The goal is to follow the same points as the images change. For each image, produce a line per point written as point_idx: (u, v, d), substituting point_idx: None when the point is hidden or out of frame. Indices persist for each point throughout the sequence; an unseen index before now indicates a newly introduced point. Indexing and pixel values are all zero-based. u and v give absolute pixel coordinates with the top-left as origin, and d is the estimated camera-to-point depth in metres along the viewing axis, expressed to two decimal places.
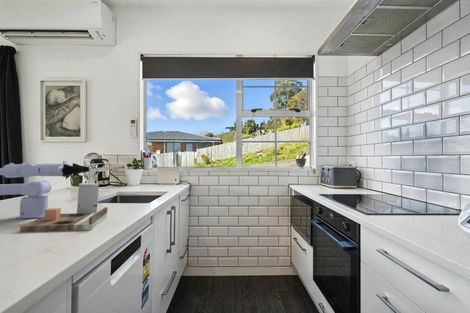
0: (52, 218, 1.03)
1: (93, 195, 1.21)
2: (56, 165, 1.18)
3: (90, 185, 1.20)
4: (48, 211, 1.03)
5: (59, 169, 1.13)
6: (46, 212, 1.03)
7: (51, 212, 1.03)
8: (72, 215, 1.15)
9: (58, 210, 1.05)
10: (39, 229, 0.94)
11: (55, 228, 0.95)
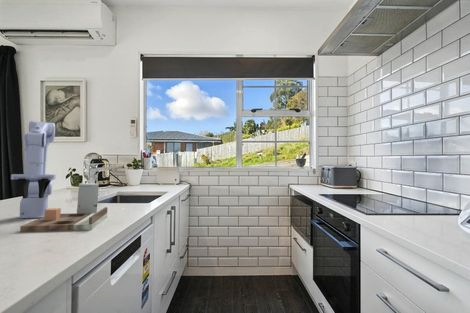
0: (52, 218, 1.03)
1: (93, 195, 1.21)
2: (25, 168, 1.01)
3: (90, 185, 1.20)
4: (48, 211, 1.03)
5: None
6: (46, 212, 1.03)
7: (51, 212, 1.03)
8: (72, 215, 1.15)
9: (58, 210, 1.05)
10: (39, 229, 0.94)
11: (55, 228, 0.95)
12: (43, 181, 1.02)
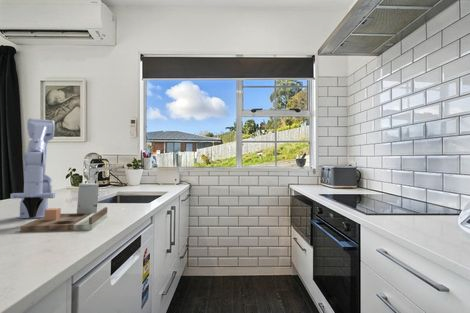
0: (52, 218, 1.03)
1: (93, 195, 1.21)
2: (25, 188, 1.01)
3: (90, 185, 1.20)
4: (48, 211, 1.03)
5: None
6: (46, 212, 1.03)
7: (51, 212, 1.03)
8: (72, 215, 1.15)
9: (58, 210, 1.05)
10: (39, 229, 0.94)
11: (55, 228, 0.95)
12: (35, 200, 1.01)
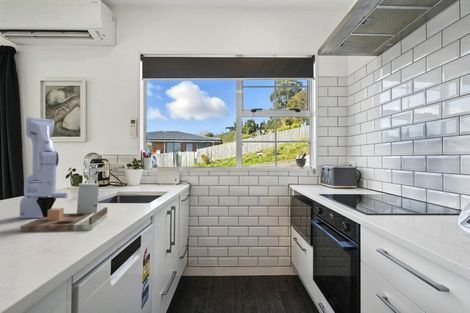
0: (55, 218, 1.03)
1: (93, 195, 1.21)
2: (38, 188, 1.02)
3: (90, 185, 1.20)
4: (51, 211, 1.03)
5: None
6: (49, 212, 1.03)
7: (55, 212, 1.03)
8: (72, 215, 1.15)
9: (61, 210, 1.05)
10: (39, 229, 0.94)
11: (55, 228, 0.95)
12: (49, 200, 1.02)
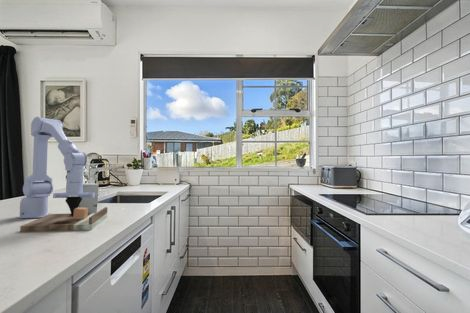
0: (80, 217, 1.05)
1: None
2: (67, 187, 1.04)
3: (90, 185, 1.20)
4: (77, 210, 1.05)
5: None
6: (75, 211, 1.05)
7: (80, 212, 1.05)
8: None
9: (86, 210, 1.07)
10: (39, 229, 0.94)
11: (55, 228, 0.95)
12: (76, 200, 1.04)
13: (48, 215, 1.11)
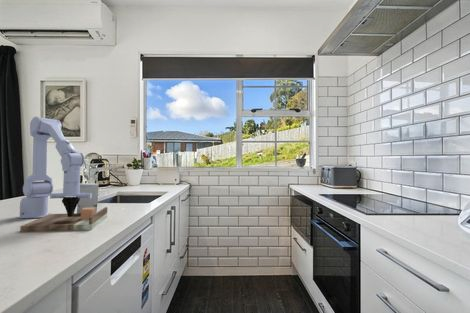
0: (88, 217, 1.06)
1: (93, 195, 1.21)
2: (64, 188, 1.04)
3: (90, 185, 1.20)
4: (84, 210, 1.05)
5: None
6: (82, 211, 1.05)
7: (87, 212, 1.06)
8: None
9: (93, 209, 1.08)
10: (39, 229, 0.94)
11: (55, 228, 0.95)
12: (74, 200, 1.04)
13: (48, 215, 1.11)
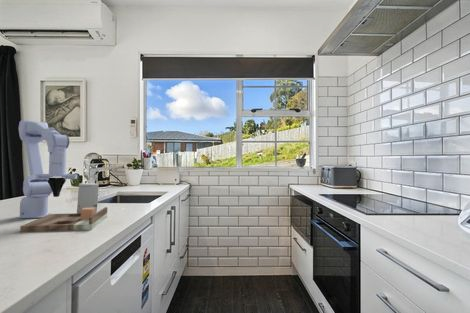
0: (88, 217, 1.06)
1: (93, 195, 1.21)
2: (49, 168, 1.06)
3: (90, 185, 1.20)
4: (84, 210, 1.05)
5: None
6: (82, 211, 1.05)
7: (87, 212, 1.06)
8: (72, 215, 1.15)
9: (93, 209, 1.08)
10: (39, 229, 0.94)
11: (55, 228, 0.95)
12: (59, 180, 1.07)
13: (48, 215, 1.11)
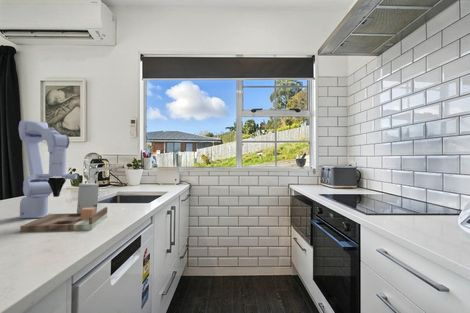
0: (88, 217, 1.06)
1: (93, 195, 1.21)
2: (49, 168, 1.06)
3: (90, 185, 1.20)
4: (84, 210, 1.05)
5: None
6: (82, 211, 1.05)
7: (87, 212, 1.06)
8: (72, 215, 1.15)
9: (93, 209, 1.08)
10: (39, 229, 0.94)
11: (55, 228, 0.95)
12: (59, 180, 1.07)
13: (48, 215, 1.11)
